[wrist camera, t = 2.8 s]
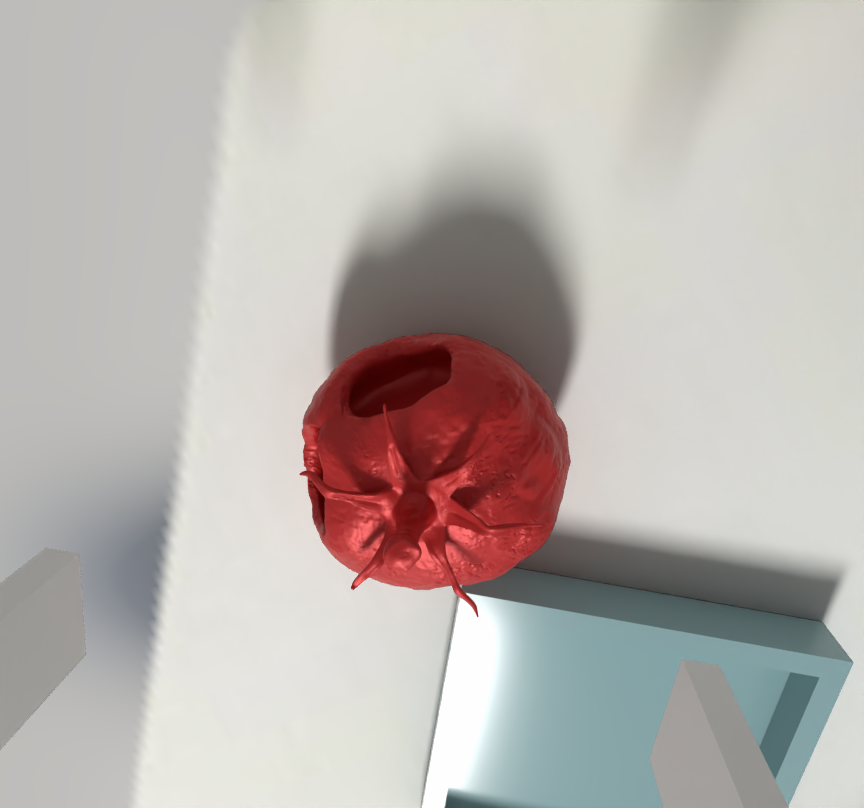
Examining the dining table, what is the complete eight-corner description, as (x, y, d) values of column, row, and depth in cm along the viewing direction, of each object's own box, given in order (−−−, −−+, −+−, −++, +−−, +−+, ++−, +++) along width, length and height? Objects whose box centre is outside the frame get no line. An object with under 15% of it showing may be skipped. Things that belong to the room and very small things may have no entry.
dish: (464, 558, 28) (461, 592, 25) (822, 621, 27) (853, 662, 25) (420, 809, 33) (414, 856, 31) (718, 869, 32) (735, 922, 30)
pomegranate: (605, 420, 25) (670, 538, 17) (449, 570, 28) (434, 739, 19) (422, 262, 24) (387, 300, 15) (278, 438, 27) (178, 556, 18)
